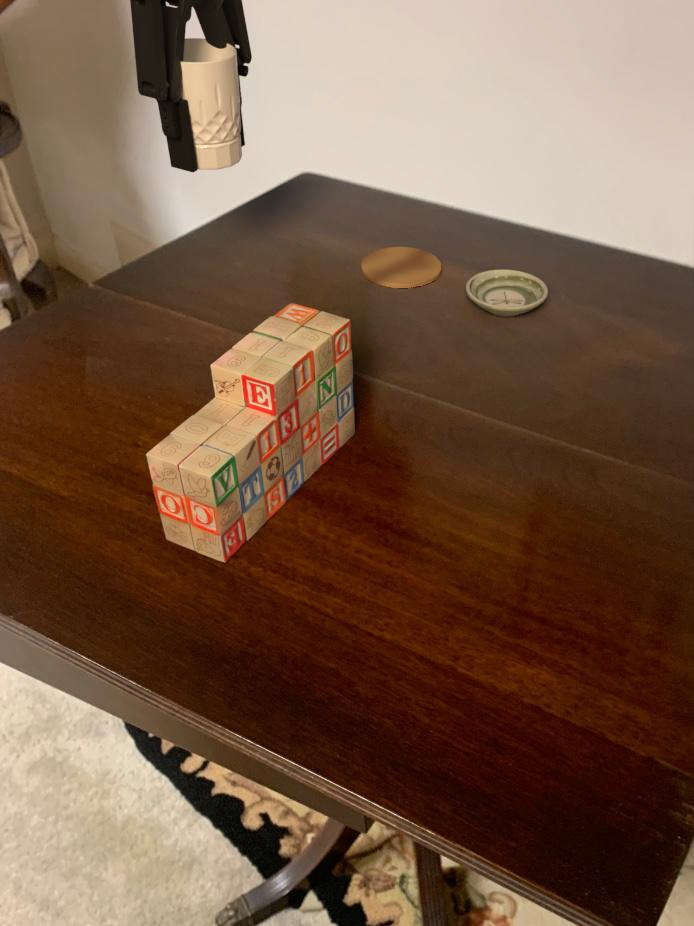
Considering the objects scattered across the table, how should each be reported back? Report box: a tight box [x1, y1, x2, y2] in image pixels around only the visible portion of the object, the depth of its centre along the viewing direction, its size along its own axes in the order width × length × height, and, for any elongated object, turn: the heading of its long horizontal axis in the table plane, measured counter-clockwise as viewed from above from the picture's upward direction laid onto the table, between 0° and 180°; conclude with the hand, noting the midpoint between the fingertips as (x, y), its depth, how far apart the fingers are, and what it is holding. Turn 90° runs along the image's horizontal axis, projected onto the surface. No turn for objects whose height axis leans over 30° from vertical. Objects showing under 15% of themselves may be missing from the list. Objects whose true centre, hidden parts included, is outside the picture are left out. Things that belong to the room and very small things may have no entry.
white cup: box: [167, 37, 243, 171], centre depth 89 cm, size 8×8×10 cm
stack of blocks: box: [145, 302, 356, 563], centre depth 76 cm, size 21×6×12 cm, turn 154°
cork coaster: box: [360, 246, 443, 289], centre depth 110 cm, size 10×10×1 cm
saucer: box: [465, 268, 549, 318], centre depth 104 cm, size 10×10×2 cm
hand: (209, 155), depth 93 cm, fingers closed on white cup, 8 cm apart
